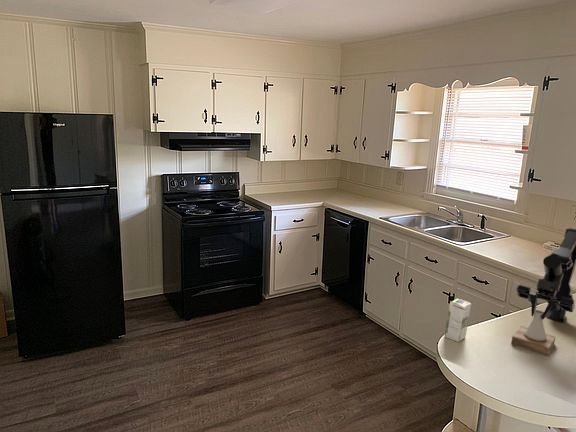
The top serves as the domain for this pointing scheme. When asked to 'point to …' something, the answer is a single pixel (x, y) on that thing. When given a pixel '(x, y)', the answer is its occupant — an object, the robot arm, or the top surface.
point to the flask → (536, 328)
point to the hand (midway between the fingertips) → (537, 317)
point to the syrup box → (457, 320)
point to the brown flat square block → (532, 342)
